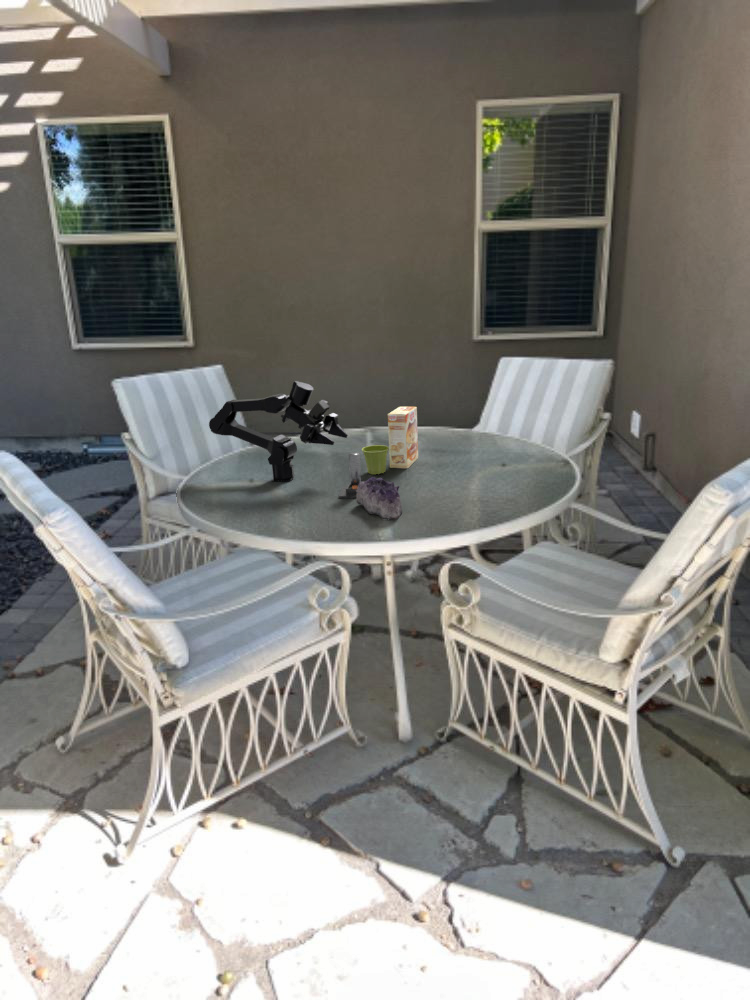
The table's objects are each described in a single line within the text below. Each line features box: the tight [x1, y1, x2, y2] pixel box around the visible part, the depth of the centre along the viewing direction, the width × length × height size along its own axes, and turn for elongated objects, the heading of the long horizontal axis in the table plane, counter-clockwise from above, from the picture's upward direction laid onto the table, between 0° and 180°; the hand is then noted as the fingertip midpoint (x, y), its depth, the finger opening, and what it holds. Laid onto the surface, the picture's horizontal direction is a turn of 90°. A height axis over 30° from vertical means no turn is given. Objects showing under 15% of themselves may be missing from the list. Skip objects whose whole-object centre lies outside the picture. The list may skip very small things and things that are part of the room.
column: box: [348, 452, 362, 488], centre depth 218 cm, size 4×4×12 cm
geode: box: [355, 476, 403, 521], centre depth 202 cm, size 20×12×10 cm, turn 23°
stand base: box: [337, 483, 358, 500], centre depth 220 cm, size 10×10×3 cm
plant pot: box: [361, 444, 389, 475], centre depth 241 cm, size 9×9×9 cm
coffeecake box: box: [387, 406, 419, 469], centre depth 250 cm, size 15×7×20 cm, turn 161°
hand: (340, 440), depth 226 cm, fingers open, 9 cm apart
